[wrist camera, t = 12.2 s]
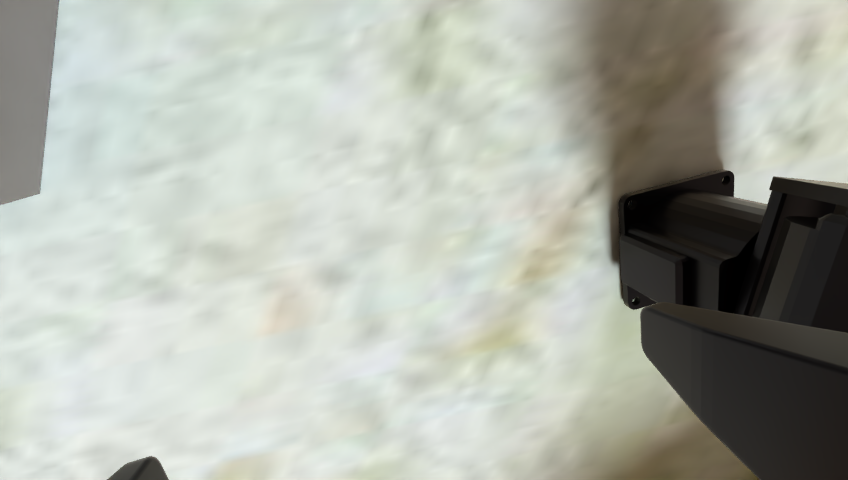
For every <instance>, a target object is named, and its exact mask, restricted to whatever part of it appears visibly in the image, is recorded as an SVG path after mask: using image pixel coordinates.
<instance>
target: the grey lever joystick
mask: <svg viewBox="0 0 848 480" xmlns="http://www.w3.org/2000/svg"><path fill="white" fill-rule="evenodd" d="M58 5H59V0H0V205H2V204H5V203H9V202H12V201H16V200H19V199H23V198H26V197H30V196H33V195H37V194H40V186H41V176H42V166H43V156H44V146H45V136H46V126H47V115H48V105H49V95H50V85H51V75H52V65H53V55H54V45H55V35H56V25H57V15H58Z"/></svg>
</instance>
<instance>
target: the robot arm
mask: <svg viewBox="0 0 848 480" xmlns="http://www.w3.org/2000/svg"><path fill="white" fill-rule="evenodd" d="M723 177H724V179H723ZM722 179H723V182H722ZM769 190H772V192H771V195H770V198H769V201H768V204H763V203H758V202H754V201H749V200H744V199H740V198H735V197H734V174H733V173H732V172H731V171H727V170H718V171H714V172H710V173H706V174H702V175H698V176H694V177H691V178H687V179H683V180H679V181H675V182H671V183H667V184H663V185H659V186H656V187H652V188H648V189H644V190H640V191H636V192H632V193H628V194H626V195H624V196H623V197H622V198H621V199H620V201H619V224H620V240H619V246H620V265H621V281H622V282H623V301H624V304H625V305H626V306H628V307H629V308H631V309H639V308H642V307H644V308H643V309H642V311H641V314H640V319H641V343H642V348H643V351H644V353H645V355H646V356H647V358H648V359H649V360H650V361H651V362H652V364H653V365H654V366H655V367H656V368H657V370H658V371H659V372H660V373H661V374H662V376H663V377H664V378H665V379H666V380H667V382H668V383H669V384H670V385H671V386H672V387H673V389H674V390H675V391H676V392H677V393H678V395H679V396H680V397H681V398H682V399H683V401H684V402H685V403H686V404H687V405H688V407H689V408H690V409H691V410H692V411H693V412H694V413H695V415H696V416H697V417H698V418H699V419H700V420H701V421H702V422H703V423H704V424H705V425H706V426H707V428H708V429H709V430H710V431H711V432H712V433H713V434H714V435H715V436H716V437H717V438H718V439H719V440H720V441H721V442H722V443H723V444H724V445H725V446H726V447H727V448H728V449H729V450H730V451H731V452H732V453H733V454H734V455H735V456H737V457H738V458H739V459H740V460H741V461H742V462H743V463H744V464H745V465H746V466H747V467H748V468H749V469H750V470H751V471H752V472H753V473H754V474H755V475H756V476H757V477H758V478H759V479H760V480H848V184H845V183H835V182H825V181H814V180H804V179H794V178H784V177H773V179H772V182H771V185H770V189H769ZM630 201H632V203H631V206H630V207H629V208H628V203H629V202H630ZM635 297H636V298H635ZM634 298H635V300H634V301H633V302H632V300H633V299H634ZM655 303H656V304H655ZM652 304H653V305H652ZM649 305H650V306H649ZM645 306H646V307H645ZM107 480H169V479H168V477H167V475H166V473H165V471H164V469H163V467H162V465H161V463H160V462H159V460H158V459H157V458H156V457H152V456H149V457H146V458H143V459H139V460H136V461H133V462H129V463H127V464H125V465H124V466H123V467H121V468H120V469H119V470H118V471H117V472H116V473H114V474H113V475H112V476H111V477H110V478H109V479H107Z"/></svg>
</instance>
